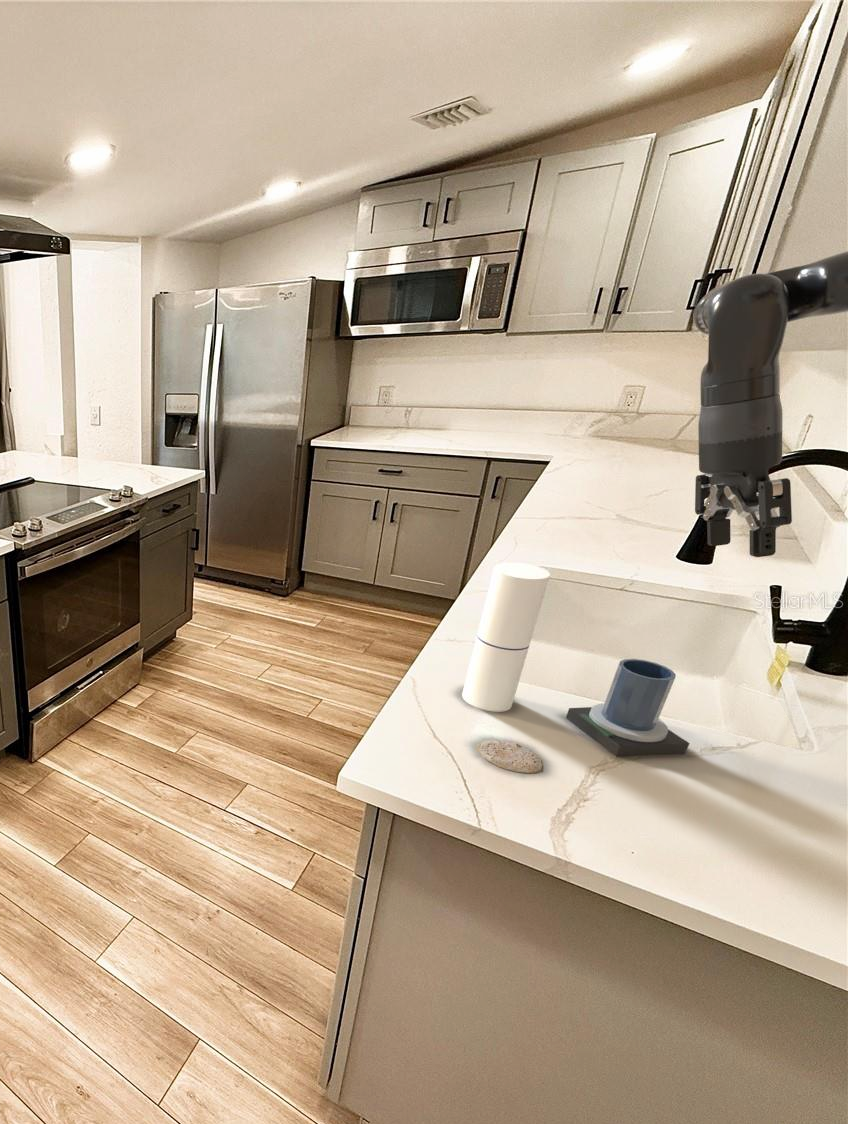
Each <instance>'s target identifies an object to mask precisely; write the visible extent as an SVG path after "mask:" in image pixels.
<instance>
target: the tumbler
mask: <svg viewBox="0 0 848 1124" xmlns="http://www.w3.org/2000/svg"><path fill="white" fill-rule="evenodd" d="M676 676H677V674H676V673H675V672H674V670H672V669H671V668H669V667H667V666H665V665H663V664H660V663H657V662H654V661H650V660H645V659H638V658H626V659H625V658H624V659H622V660H620V661H619V663H618V666H617V668H616V671H615V673H614V677H613V679H612V682H611V685H610V687H609V690H608V693H607V695H606V698H605V701H604V703H605V704H604V703H603V704H604V706H603V709H602V715H603V717H604V718H605V719H607V720H608V721H610V722H611V723H613V724H616V725H618V726H621V727H624V728H627V729H631V730H637V731H649V730H652V729H654V727H655V725H656V723H657V721H658V719H660V716H661V713H662V711H663V709H664V706H665V704H666V701H667V700H668V697H669V694H670V692H671V689H672V687H673V684H674V682H675V680H676Z"/></svg>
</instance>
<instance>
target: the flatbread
mask: <svg viewBox="0 0 848 1124" xmlns="http://www.w3.org/2000/svg"><path fill="white" fill-rule="evenodd" d="M476 748H477V749H478V751H479V754H480V755H481V756H482V758H483V759H484V760H485V761H487V762H489V763H491V764H492V765H494V766H496V767H498V768H500V769H503V770H506V771H510V772H514V773H520V774H533V773H538V772H541V771H542V769H543V761H542V759H541V757H540V756H539V755H537V754H536V753H534V752H533V751H531V750H530V749H528V747H525V746H522V745H520V744H518V743H515V742H509V741H501V740H485V741H484V742H481V743H478V744H477V745H476Z"/></svg>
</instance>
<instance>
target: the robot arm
mask: <svg viewBox="0 0 848 1124" xmlns="http://www.w3.org/2000/svg"><path fill="white" fill-rule="evenodd" d="M847 312H848V250H847V251H844V252H840V253H837V254H834V255H831V256H828V257H825V258H821V259H820V260H816V261H814V262H810V263H807V264H803V265H798V266H794V267H789V268H785V269H780V270H776V271H773V272H772V271H771V272H767V273H752V274H747V275H743V276H740V277H737V278H735V279H732V280H729V281H726V282H724V283H722V284H720V285H717V286H716V287H714V288H712V289H711V290H710V291H708V292H707V293H706V294H705V295H704V296H703V297H702V298H701V299H700V300H699V302H698V303H697V304H696V306H695V308H694V310H693V314H692V322H693V324H694V326H695V328H696V329H697V330H698V331H699V332H701V333H702V334H704V335H707V336H708V343H707V345H708V346H707V347H708V349H707V362H706V363H705V365H704V366H703V367H702V370H701V374H700V385H699V389H700V390H699V391H700V392H699V395H700V396H699V397H700V399H699V400H700V412H699V416H698V417H699V418H698V422H697V423H698V425H697V428H698V434H697V435H698V470H699V472H700V473H702V474H698V475H696V476H695V487H694V489H695V490H694V491H695V493H694V512H695V514H696V515H697V516H699V515H700V516H701V515H702V518H703V520H704V521H706V531H707V533H706V534H707V535H706V536H707V537H706V538H707V545H709V546H711V547H718V546H726V545H729V544H730V543H731V540H732V539H731V518H730V516H731V515H732V513H733V511H735V512H736V514H737V515H738V516H739V517H741V518H744V519H745V521H746V523H747V525H748V527H749V556H751V557H753V558H763V557H771V556H774V555H775V554H776V549H777V547H776V545H777V543H776V541H777V540H776V539H777V538H776V537H777V536H776V535H777V531H776V530H777V528H779V527H781V526H786V525H791V524H792V523H793V522H792V521H793V515H792V513H793V512H792V511H793V510H792V489H791V488H792V487H791V486H792V485H791V480H790V479H789V478H787V477H785V478H779V479H772V480H771V478H770V475H769V470H770V469H771V468H773V467H776V466H778V465H780V464H781V463H782V461H783V420H784V419H783V406H782V401H781V394H780V393H781V392H780V391H781V384H780V383H781V373H780V372H781V368H780V353H781V350H782V348H783V347H782V346H783V344H784V338H785V336H786V335H785V333H786V329H787V326H788V325H787V324H788V323H790V322H794V321H798V320H802V319H807V318H812V317H820V316H821V317H823V316H829V315H835V314H836V315H837V314H841V313H847ZM705 500H706V501H705ZM778 508H779V509H778ZM776 509H778V510H779V515H778V514H777V511H776ZM757 515H758V516H757Z"/></svg>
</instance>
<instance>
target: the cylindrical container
mask: <svg viewBox="0 0 848 1124" xmlns="http://www.w3.org/2000/svg"><path fill="white" fill-rule="evenodd" d="M492 571H493V572H492V575H491V579H490V583H489V586H488V591H487V595H486V599H485V602H484V607H483V610H482V615H481V619H480V622H479V627H478V631H477V635H476V638H475V643H474V646H473V650H472V653H471V654H472V655H471V659H470V661H469V666H468V670H467V674H466V678H465V683H464V686H463V690H462V693H461V694H462V696H461V697H462V698H463V700H464V701H465V702H466V703H468V704H469V705H471V706H473V707H475V708H477V709H480V710H483V711H488V712H493V713H494V712H495V713H496V712H497V713H501V712H506V711H509V710H510V709H512V707H513V703H514V699H515V696H516V692H517V689H518V687H519V682H520V679H521V675H522V672H523V669H524V665H525V662H526V659H527V655H528V652H529V649H530V645H531V642H532V638H533V635H534V631H535V628H536V626H537V625H536V624H537V621H538V619H539V614H540V611H541V608H542V604H543V600H544V597H545V594H546V590H547V587H548V585H549V584H548V583H549V581H550V577H551V572H549V571H548V570H547V569H545V568H543V567H540V566H537V565H533V564H530V563H529V564H528V563H523V562H501V563H498V564H495V565H494V567H493V570H492Z"/></svg>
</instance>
